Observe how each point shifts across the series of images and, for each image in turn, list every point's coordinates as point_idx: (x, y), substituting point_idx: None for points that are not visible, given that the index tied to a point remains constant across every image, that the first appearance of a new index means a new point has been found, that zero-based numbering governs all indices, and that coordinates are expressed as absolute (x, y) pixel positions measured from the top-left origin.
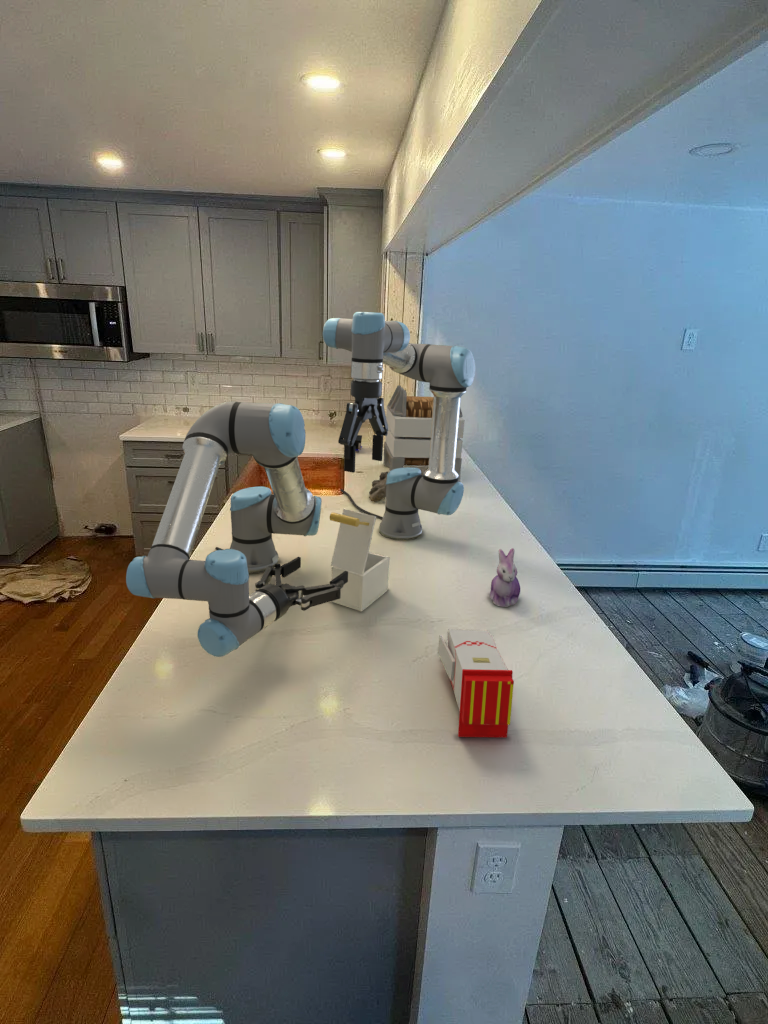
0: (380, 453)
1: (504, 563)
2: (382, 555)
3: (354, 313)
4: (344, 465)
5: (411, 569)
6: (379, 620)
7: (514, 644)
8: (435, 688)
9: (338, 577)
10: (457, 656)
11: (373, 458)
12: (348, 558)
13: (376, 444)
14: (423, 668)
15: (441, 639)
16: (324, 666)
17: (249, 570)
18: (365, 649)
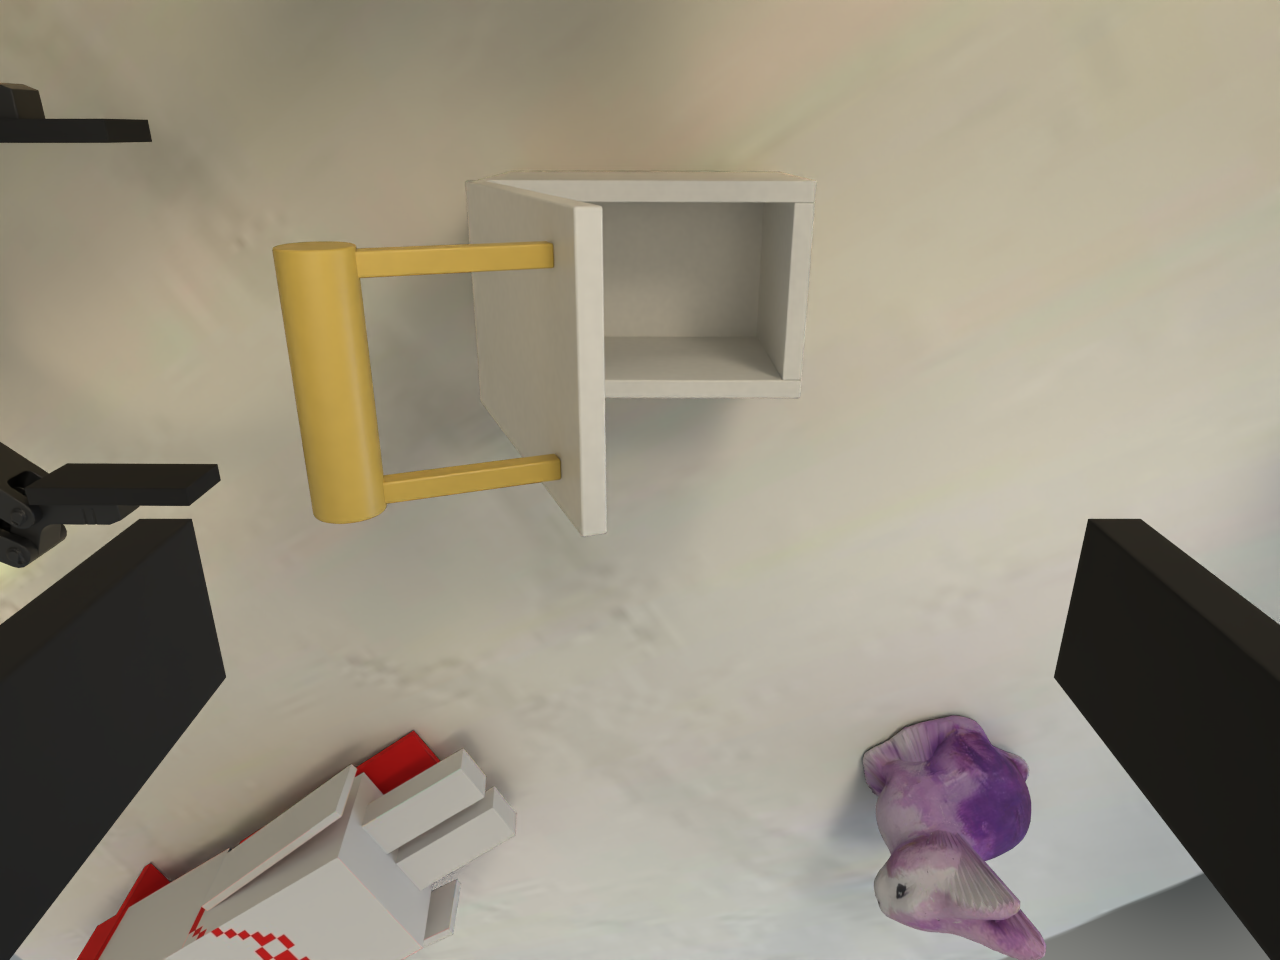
0: (1128, 754)
1: (933, 908)
2: (801, 351)
3: None
4: (86, 571)
5: (1046, 339)
6: (504, 446)
7: (639, 859)
8: (276, 759)
9: (96, 500)
10: (162, 957)
11: (1092, 560)
12: (487, 306)
13: (1267, 797)
14: (337, 698)
15: (313, 826)
16: (110, 437)
17: None
18: (297, 501)
